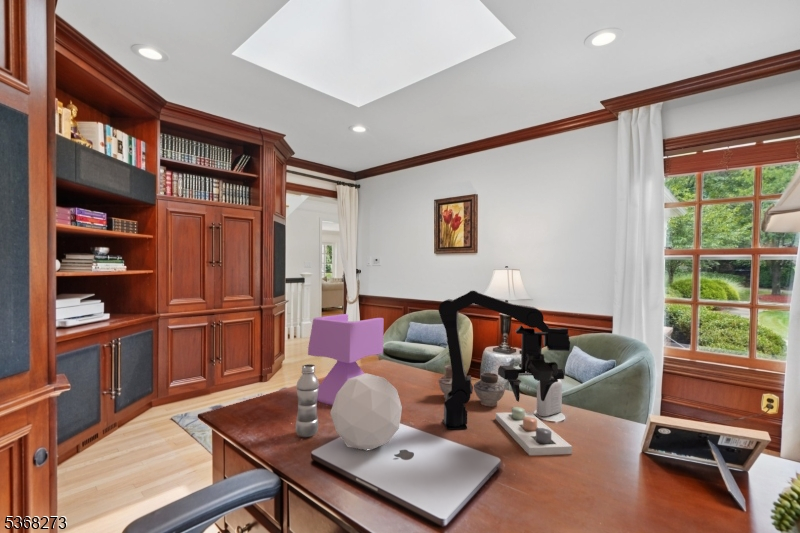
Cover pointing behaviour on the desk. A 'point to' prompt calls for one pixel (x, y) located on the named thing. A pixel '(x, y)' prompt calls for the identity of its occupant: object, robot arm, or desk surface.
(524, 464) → the desk surface
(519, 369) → the robot arm
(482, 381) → the pottery
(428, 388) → the desk surface
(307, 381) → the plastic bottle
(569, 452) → the button console
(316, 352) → the purple table lamp
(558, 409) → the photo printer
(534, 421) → the terracotta button
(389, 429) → the geometric orb
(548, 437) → the charcoal button
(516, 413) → the sage button
